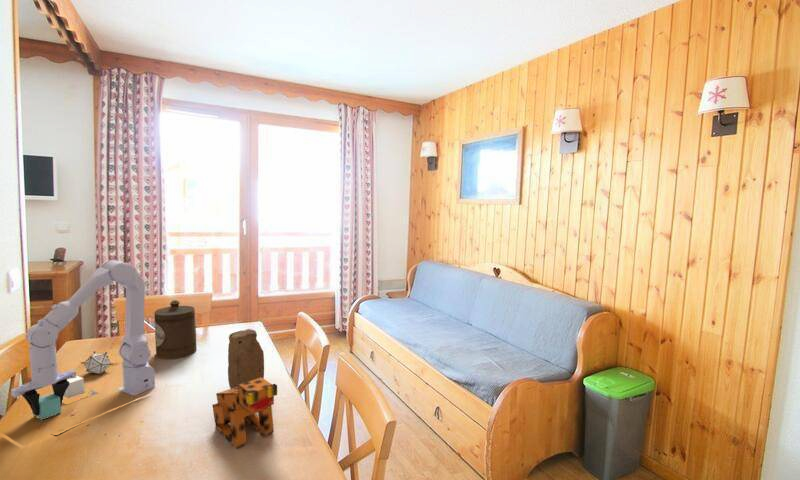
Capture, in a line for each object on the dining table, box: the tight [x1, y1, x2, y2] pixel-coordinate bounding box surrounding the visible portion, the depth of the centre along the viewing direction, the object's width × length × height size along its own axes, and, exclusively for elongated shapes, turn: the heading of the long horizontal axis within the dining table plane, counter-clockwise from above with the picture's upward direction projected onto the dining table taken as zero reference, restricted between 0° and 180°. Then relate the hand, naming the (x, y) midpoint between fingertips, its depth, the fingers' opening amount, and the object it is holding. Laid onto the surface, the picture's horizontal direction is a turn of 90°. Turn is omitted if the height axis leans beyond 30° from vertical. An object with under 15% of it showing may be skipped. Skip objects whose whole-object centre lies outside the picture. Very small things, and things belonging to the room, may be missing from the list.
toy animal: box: [211, 377, 278, 449], centre depth 112 cm, size 10×20×16 cm, turn 46°
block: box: [227, 328, 265, 389], centre depth 138 cm, size 11×8×20 cm
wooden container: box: [154, 299, 197, 360], centre depth 168 cm, size 15×15×22 cm
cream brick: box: [64, 375, 85, 398], centre depth 131 cm, size 5×5×5 cm
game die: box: [81, 350, 114, 375], centre depth 147 cm, size 9×8×10 cm
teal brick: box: [35, 393, 62, 420], centre depth 118 cm, size 5×5×5 cm
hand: (47, 410), depth 119 cm, fingers closed on teal brick, 5 cm apart
